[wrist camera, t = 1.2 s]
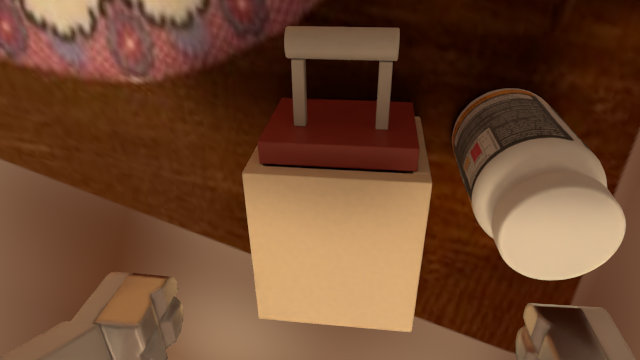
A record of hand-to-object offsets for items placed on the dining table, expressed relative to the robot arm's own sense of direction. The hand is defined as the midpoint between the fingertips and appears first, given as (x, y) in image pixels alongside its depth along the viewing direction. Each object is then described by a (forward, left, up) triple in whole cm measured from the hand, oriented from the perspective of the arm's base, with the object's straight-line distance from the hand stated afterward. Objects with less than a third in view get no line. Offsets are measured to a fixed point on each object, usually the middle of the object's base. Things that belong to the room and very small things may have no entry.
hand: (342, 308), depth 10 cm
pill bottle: (+3, +8, -17) cm, 19 cm away
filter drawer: (+3, -1, -16) cm, 17 cm away
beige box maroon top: (+7, -1, -17) cm, 19 cm away
